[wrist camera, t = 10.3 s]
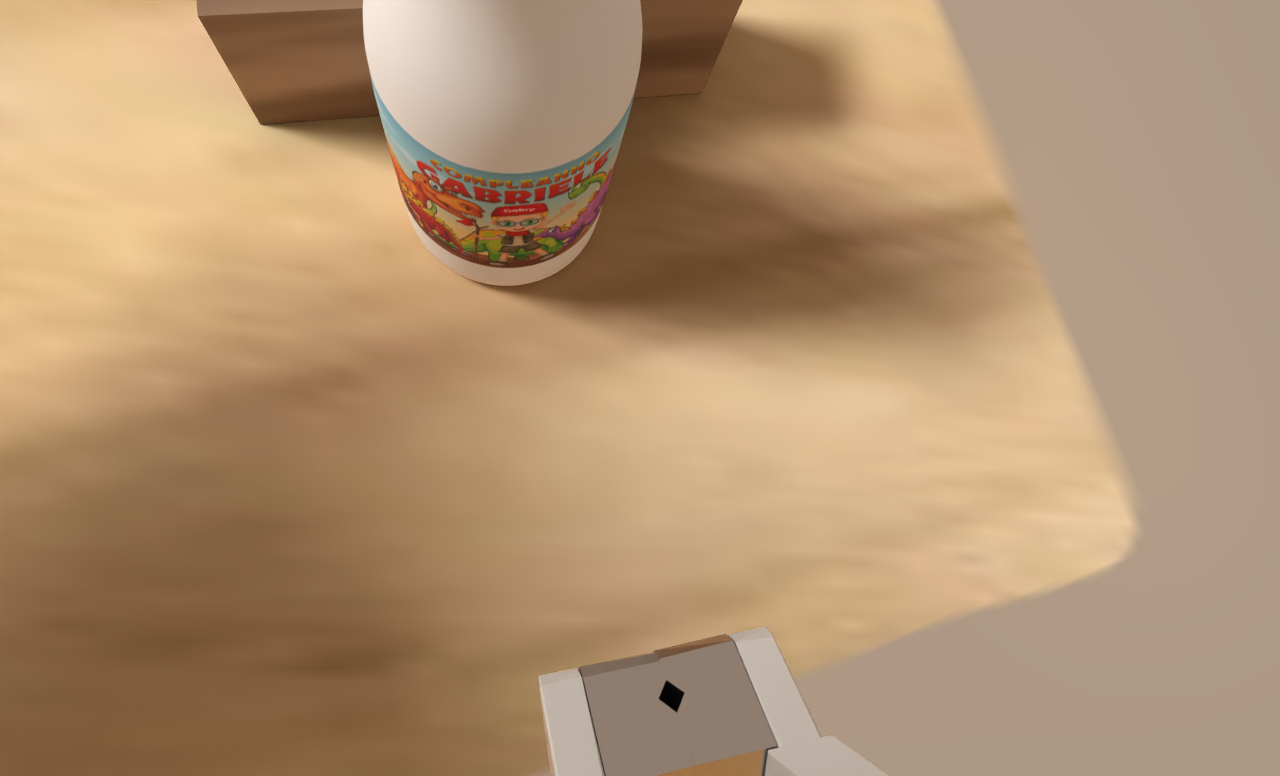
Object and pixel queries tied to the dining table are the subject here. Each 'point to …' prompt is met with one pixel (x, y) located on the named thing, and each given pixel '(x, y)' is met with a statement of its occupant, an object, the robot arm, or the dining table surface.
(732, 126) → the dining table surface
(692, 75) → the walnut block
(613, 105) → the milk bottle
